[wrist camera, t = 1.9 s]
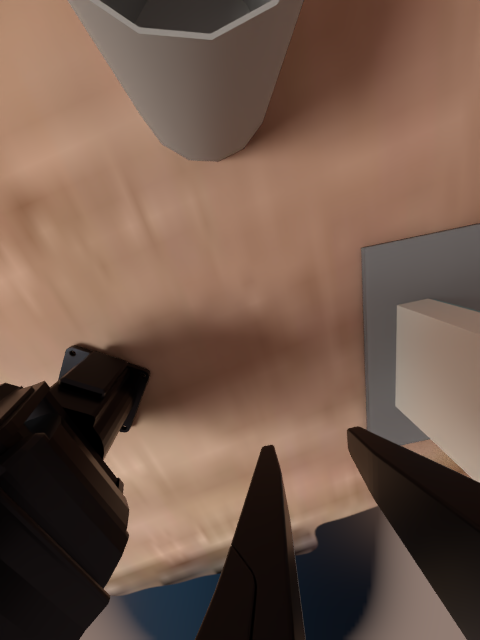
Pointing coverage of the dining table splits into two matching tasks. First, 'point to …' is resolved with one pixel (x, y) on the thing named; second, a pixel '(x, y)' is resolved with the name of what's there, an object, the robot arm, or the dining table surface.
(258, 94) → the cup
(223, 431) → the dining table surface
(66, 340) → the dining table surface
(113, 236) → the dining table surface
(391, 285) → the mat
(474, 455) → the cream flat block
